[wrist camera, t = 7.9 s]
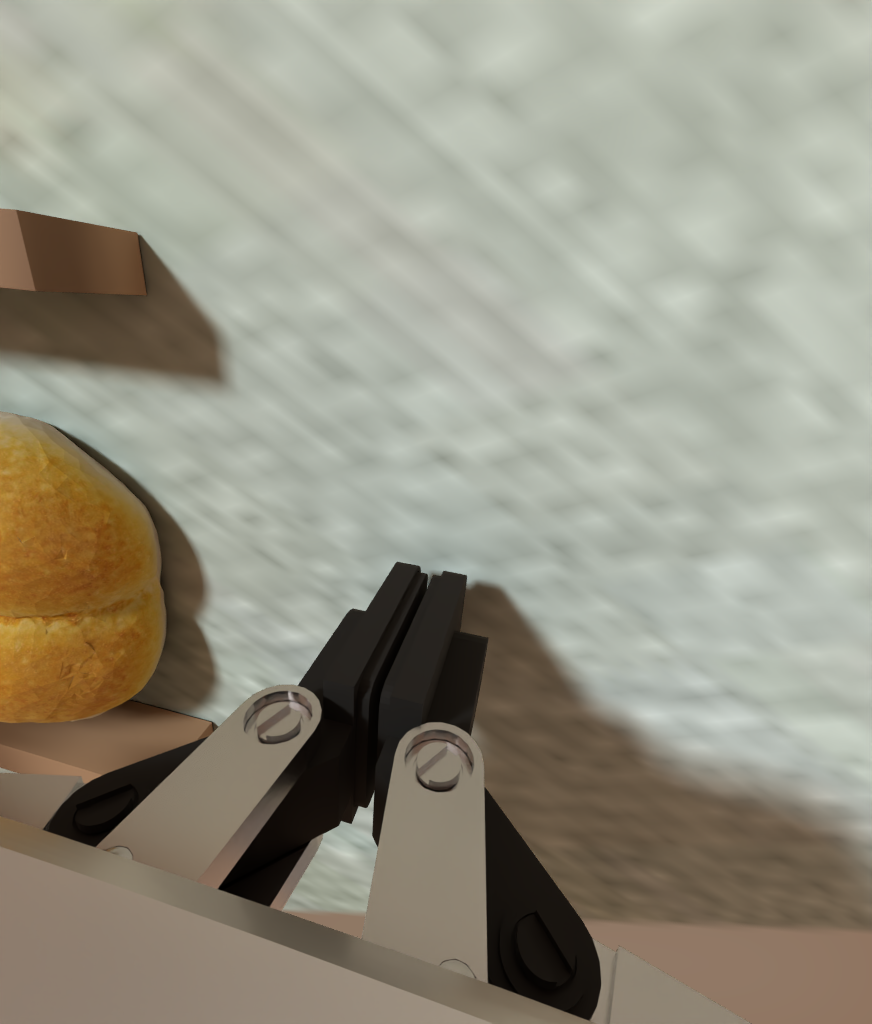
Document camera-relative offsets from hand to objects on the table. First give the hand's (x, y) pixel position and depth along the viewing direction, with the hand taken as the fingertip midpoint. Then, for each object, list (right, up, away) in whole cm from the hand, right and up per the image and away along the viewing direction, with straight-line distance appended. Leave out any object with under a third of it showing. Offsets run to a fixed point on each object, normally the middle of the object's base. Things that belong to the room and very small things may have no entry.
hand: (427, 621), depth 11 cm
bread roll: (-11, +1, +4) cm, 12 cm away
